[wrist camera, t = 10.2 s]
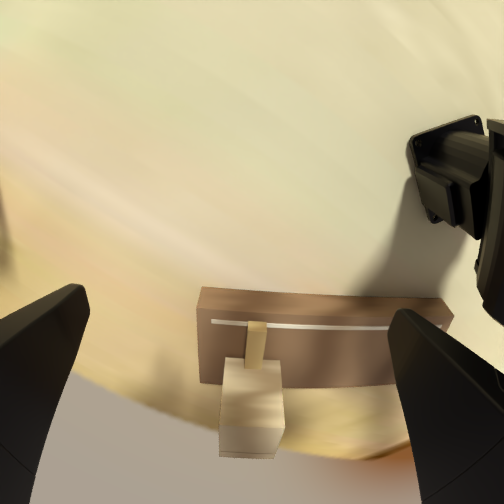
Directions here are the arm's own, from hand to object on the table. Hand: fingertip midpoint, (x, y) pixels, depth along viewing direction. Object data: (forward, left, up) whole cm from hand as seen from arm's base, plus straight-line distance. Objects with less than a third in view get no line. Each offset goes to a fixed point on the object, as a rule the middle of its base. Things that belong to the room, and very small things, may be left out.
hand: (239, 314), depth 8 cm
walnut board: (-1, +14, -12) cm, 18 cm away
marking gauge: (+5, +11, -11) cm, 17 cm away
